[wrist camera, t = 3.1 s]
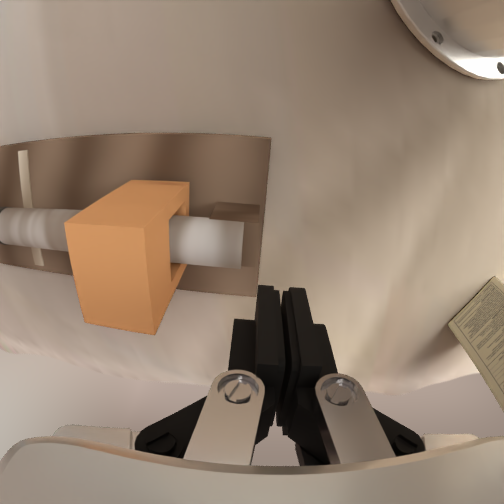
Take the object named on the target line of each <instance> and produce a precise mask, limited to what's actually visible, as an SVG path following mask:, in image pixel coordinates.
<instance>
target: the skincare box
mask: <svg viewBox="0 0 504 504" xmlns="http://www.w3.org/2000/svg"><path fill="white" fill-rule="evenodd" d="M448 326H449V328H450V329H451V330H452V332H453V333H454V335H455V336H456V338H457V339H458V340H459V342H460V343H461V345H462V346H463V348H464V349H465V351H466V352H467V354H468V355H469V357H470V358H471V360H472V361H473V363H474V364H475V366H476V367H477V369H478V371H479V372H480V374H481V375H482V377H483V378H484V380H485V382H486V383H487V385H488V386H489V388H490V390H491V392H492V393H493V395H494V396H495V398H496V400H497V402H498V403H499V405H500V407H501V408H502V410H503V412H504V284H503V283H502V282H501V281H500V280H499V279H498V278H496V277H493V278H492V279H491V280H490V281H489V282H488V283H487V284H486V285H485V287H484V288H483V289H482V290H481V291H480V292H479V293H478V294H477V295H476V296H475V297H474V298H473V299H472V300H471V301H470V302H469V303H468V304H467V305H466V306H465V307H464V308H463V309H462V310H461V311H460V312H459V313H458V314H457V315H456V316H455V318H454V319H452V320H451V321H450V322H449V324H448Z"/></svg>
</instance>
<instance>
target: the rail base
mask: <svg viewBox="0 0 504 504" xmlns="http://www.w3.org/2000/svg"><path fill="white" fill-rule="evenodd" d="M270 149H271V138H268V137H256V136H243V135H227V134H205V133H124V134H103V135H88V136H75V137H64V138H55V139H46V140H38V141H30V142H23V143H16V144H10V145H4V146H0V263H3V264H8V265H14V266H19V267H25V268H31V269H36V270H42V271H48V272H55V273H61V274H67V275H73V271H72V266H71V261H70V256H69V251H68V245H67V239H66V233H65V226H64V222H66V221H67V220H69V219H70V218H72V217H73V216H75V215H76V214H78V213H79V212H81V211H82V210H84V209H85V208H87V207H88V206H90V205H91V204H93V203H95V202H96V201H98V200H99V199H101V198H102V197H104V196H106V195H107V194H109V193H110V192H112V191H114V190H115V189H117V188H119V187H120V186H122V185H124V184H125V183H127V182H129V181H130V180H153V181H178V182H190V183H189V216H179V215H173V216H172V217H171V218H170V219H169V246H170V263H181V264H187V266H186V268H185V270H184V272H183V274H182V277H181V279H180V281H179V283H178V285H177V287H176V289H180V290H189V291H199V292H208V293H218V294H229V295H240V296H251V297H256V294H257V284H258V274H259V264H260V254H261V244H262V234H263V223H264V213H265V202H266V192H267V181H268V171H269V160H270Z"/></svg>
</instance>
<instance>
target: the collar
mask: <svg viewBox="0 0 504 504" xmlns="http://www.w3.org/2000/svg"><path fill="white" fill-rule="evenodd" d="M189 183H190V182H178V181H153V180H130V181H129V182H127V183H125V184H124V185H122V186H120V187H119V188H117V189H115V190H114V191H112V192H110V193H109V194H107V195H106V196H104V197H102V198H101V199H99V200H98V201H96V202H95V203H93V204H91V205H90V206H88V207H87V208H85V209H84V210H82V211H81V212H79V213H78V214H76V215H75V216H73V217H72V218H70V219H69V220H67V221H66V222H64V226H65V233H66V239H67V245H68V251H69V256H70V261H71V266H72V271H73V276H74V281H75V285H76V289H77V294H78V298H79V302H80V306H81V310H82V313H83V317H84V321H85V323H90V324H95V325H100V326H105V327H110V328H115V329H121V330H126V331H132V332H138V333H144V334H150V335H155V334H156V332H157V329H158V327H159V325H160V323H161V320H162V318H163V316H164V314H165V311H166V309H167V307H168V305H169V303H170V300H171V298H172V296H173V294H174V292H175V289H176V287H177V285H178V283H179V281H180V279H181V277H182V274H183V272H184V270H185V268H186V266H187V264H181V263H170V246H169V219H170V218H171V217H172V216H173V215H179V216H189Z"/></svg>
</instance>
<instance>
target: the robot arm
mask: <svg viewBox="0 0 504 504" xmlns="http://www.w3.org/2000/svg"><path fill="white" fill-rule="evenodd" d="M390 1H391V2H392V4H393V6H394V8H395V10H396V11H397V13H398V15H399V16H400V17H401V19H402V20H403V22H404V23H405V24H406V26H407V27H408V29H409V30H410V31H411V32H412V33H413V34H414V35H415V37H416V38H417V39H418V40H419V41H420V42H421V43H422V44H423V45H424V46H425V47H426V48H427V49H428V50H429V51H430V52H431V53H432V54H433V55H435V56H436V57H437V58H438V59H440V60H441V61H442V62H444V63H445V64H447V65H448V66H449V67H451V68H453V69H455V70H457V71H458V72H460V73H462V74H464V75H467V76H470V77H473V78H476V79H483V80H502V79H504V0H390ZM432 38H433V39H432ZM275 412H276V422H277V426H282V431H283V435H288V437H289V438H290V439H292V440H293V441H294V442H296V443H295V450H296V454H297V457H298V461H299V465H300V466H251V462H252V458H253V453H254V449H255V445H256V444H257V443H259V442H260V441H261V440H263V439H264V438H266V437H267V436H268V432H269V427H270V426H272V425H273V421H274V417H275ZM0 504H504V436H498V437H486V438H478V437H476V436H475V435H472V434H424V435H423V436H422V437H420V436H419V435H418V434H416V433H415V432H414V431H412V430H410V429H408V428H407V427H405V426H403V425H401V424H400V423H398V422H396V421H394V420H393V419H391V418H389V417H388V416H386V415H384V414H382V413H381V412H379V411H377V410H376V409H374V408H372V406H371V404H370V402H369V400H368V398H367V396H366V394H365V392H364V390H363V388H362V386H361V385H360V384H359V382H358V381H356V380H355V379H354V378H352V377H350V376H348V375H344V374H338V372H337V368H336V364H335V360H334V356H333V352H332V349H331V345H330V341H329V337H328V334H327V330H326V327H325V325H324V324H313V320H312V316H311V312H310V307H309V303H308V299H307V295H306V290H305V288H294V287H290V288H289V291H283V295H282V302H281V304H280V294H279V290H274V286H266V285H258V292H257V302H256V311H255V320H244V319H234V325H233V334H232V342H231V350H230V359H229V367H228V371H226V372H223V373H221V374H220V375H218V376H217V377H216V378H215V379H214V381H213V383H212V385H211V388H210V390H209V393H208V396H206V397H204V398H202V399H200V400H199V401H197V402H195V403H193V404H191V405H189V406H187V407H185V408H183V409H182V410H180V411H178V412H176V413H174V414H172V415H170V416H168V417H166V418H164V419H162V420H160V421H158V422H156V423H154V424H152V425H150V426H148V427H146V428H145V429H143V430H142V431H141V432H136V431H133V432H132V431H131V429H130V428H110V427H94V426H82V425H65V426H62V427H60V428H58V429H57V430H56V431H55V433H54V434H53V436H46V437H34V438H29V439H25V440H22V441H20V442H18V443H16V444H15V445H14V446H12V448H10V449H9V450H8V451H7V453H6V454H5V455H4V456H3V458H2V459H1V461H0Z"/></svg>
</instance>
